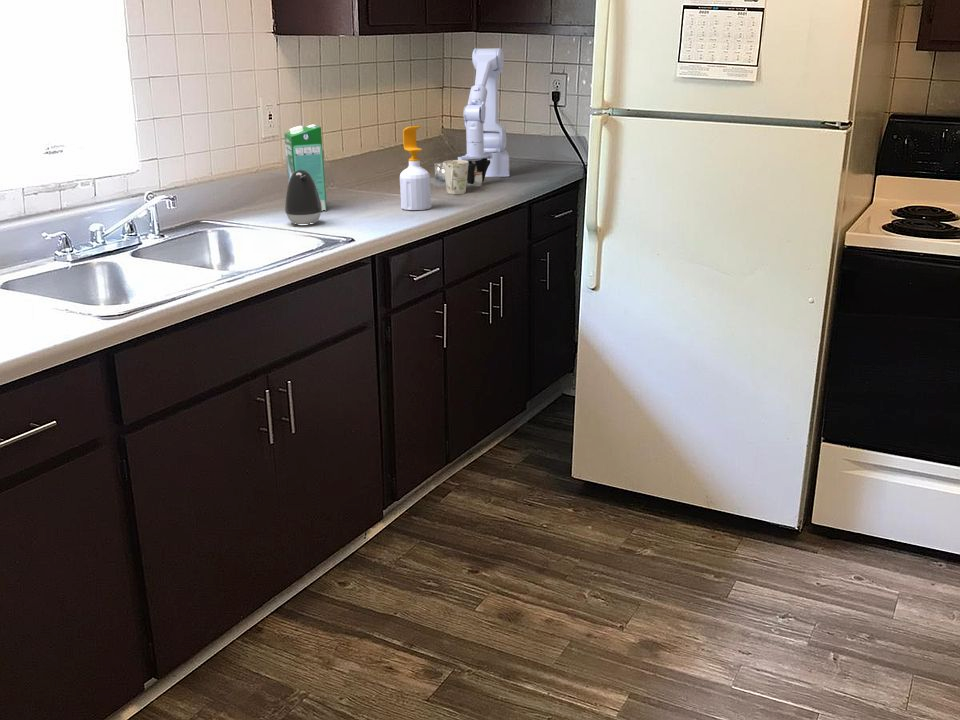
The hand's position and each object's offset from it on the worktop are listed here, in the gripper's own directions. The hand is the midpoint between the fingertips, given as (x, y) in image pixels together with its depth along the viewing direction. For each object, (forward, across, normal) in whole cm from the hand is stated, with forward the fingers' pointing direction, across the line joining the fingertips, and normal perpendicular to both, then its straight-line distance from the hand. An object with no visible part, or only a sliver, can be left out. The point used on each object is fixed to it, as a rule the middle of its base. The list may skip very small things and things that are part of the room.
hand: (475, 182), depth 329 cm
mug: (+2, +14, +4) cm, 14 cm away
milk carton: (+2, +61, -11) cm, 62 cm away
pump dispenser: (+2, +74, +5) cm, 74 cm away
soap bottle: (+2, +38, +13) cm, 40 cm away
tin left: (+1, -2, -20) cm, 20 cm away
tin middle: (+1, 0, -15) cm, 15 cm away
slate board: (+1, +1, -14) cm, 14 cm away
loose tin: (+1, 0, 0) cm, 1 cm away
